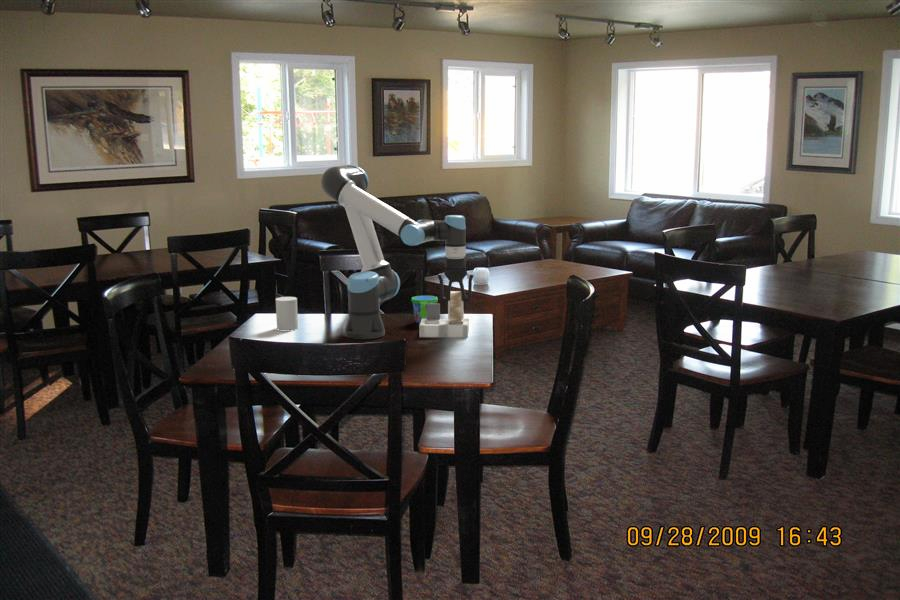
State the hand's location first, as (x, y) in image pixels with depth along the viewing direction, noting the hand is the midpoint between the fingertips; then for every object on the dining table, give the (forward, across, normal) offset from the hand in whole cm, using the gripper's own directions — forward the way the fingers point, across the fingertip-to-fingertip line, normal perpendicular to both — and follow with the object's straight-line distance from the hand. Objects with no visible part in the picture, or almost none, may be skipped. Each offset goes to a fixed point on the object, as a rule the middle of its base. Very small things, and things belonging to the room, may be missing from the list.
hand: (455, 318), depth 317 cm
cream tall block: (+1, 0, 0) cm, 1 cm away
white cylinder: (+6, -66, +8) cm, 67 cm away
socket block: (+6, -4, +2) cm, 8 cm away
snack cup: (+6, -14, +20) cm, 25 cm away
